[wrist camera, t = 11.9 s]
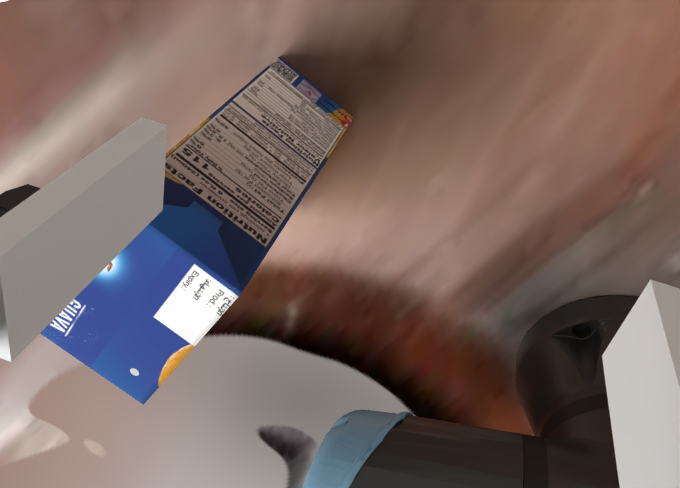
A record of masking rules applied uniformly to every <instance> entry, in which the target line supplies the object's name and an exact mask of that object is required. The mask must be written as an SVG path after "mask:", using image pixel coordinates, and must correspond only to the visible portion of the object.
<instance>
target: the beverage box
mask: <svg viewBox="0 0 680 488" xmlns="http://www.w3.org/2000/svg"><path fill="white" fill-rule="evenodd" d="M353 118H354V117H352V116H351V115H350V114H349V113H348V112H346V111H345V110H344V109H343V108H342V107H340V106H339V105H338V104H337V103H335V102H334V101H333V100H332V99H331V98H329V97H328V96H327V95H326V94H325V93H323V92H322V91H321V90H320V89H318V88H317V87H316V86H315V85H314V84H312V83H311V82H310V81H309V80H308V79H306V78H305V77H304V76H303V75H301V74H300V73H299V72H298V71H297V70H295V69H294V68H293V67H292V66H290V65H289V64H288V63H287V62H286V61H284V60H283V59H282V58H281V57H278V58H277V59H276V60H275V61H274V62H272V63H271V64H270V65H269V66H268V67H267V68H265V69H264V70H263V71H262V72H261V73H260V74H258V75H257V76H256V77H255V78H254V79H253V80H251V81H250V82H249V83H248V84H247V85H246V86H244V87H243V88H242V89H241V90H240V91H239V92H237V93H236V94H235V95H234V96H233V97H232V98H230V99H229V100H228V101H227V102H226V103H225V104H223V105H222V106H221V107H220V108H219V109H218V110H216V111H215V112H214V113H213V114H212V115H211V116H209V117H208V118H207V119H206V120H205V121H204V122H202V123H201V124H200V125H199V126H198V127H197V128H195V129H194V130H193V131H192V132H191V133H190V134H188V135H187V136H186V137H185V138H184V139H183V140H181V141H180V142H179V143H178V144H177V145H176V146H174V147H173V148H172V149H171V150H170V151H169V152H167V153H166V162H165V179H164V196H163V210H162V211H161V212H160V213H159V214H158V215H157V216H156V217H155V218H154V219H153V220H152V221H151V222H150V223H149V224H148V225H147V226H146V227H145V228H144V229H143V230H142V231H141V232H140V233H139V234H138V235H137V236H136V237H135V238H134V239H133V240H132V241H131V242H130V243H129V244H128V245H127V246H126V247H125V248H124V249H123V250H122V251H121V252H120V253H119V254H118V255H117V256H116V257H115V258H114V259H113V260H112V261H111V262H110V263H109V264H108V265H107V266H106V267H105V268H104V269H103V270H102V271H101V272H100V273H99V274H98V275H97V276H96V277H95V278H94V279H93V280H92V281H91V282H90V283H89V284H88V285H87V286H86V287H85V288H84V289H83V290H82V291H81V292H80V293H79V295H78V296H77V297H76V298H75V299H74V300H73V301H72V302H71V303H70V304H69V305H68V306H67V307H66V308H65V309H64V310H63V311H62V312H61V313H60V314H59V315H58V316H57V317H56V318H55V319H54V320H53V321H52V322H51V323H50V324H49V325H48V326H47V327H46V328H45V329H44V330H43V331H42V332H41V334H42V335H43V336H45V337H46V338H48V339H49V340H51V341H52V342H54V343H55V344H56V345H58V346H59V347H61V348H62V349H64V350H65V351H67V352H68V353H70V354H71V355H72V356H74V357H75V358H77V359H78V360H80V361H81V362H83V363H84V364H85V365H87V366H88V367H90V368H91V369H93V370H94V371H96V372H97V373H98V374H100V375H101V376H103V377H104V378H106V379H107V380H109V381H110V382H112V383H113V384H114V385H116V386H117V387H119V388H120V389H122V390H123V391H125V392H126V393H127V394H129V395H130V396H132V397H133V398H135V399H136V400H138V401H139V402H141V403H142V404H144V403H145V402H146V401H147V400H148V399H149V398H150V397H151V396H152V394H153V393H154V392H155V391H156V389H158V388H159V386H160V385H161V384H162V383H163V382H164V381H165V380H166V378H167V377H168V376H169V375H170V374H171V373H172V372H173V370H174V369H175V368H176V367H177V366H178V365H179V364H180V362H181V361H182V360H183V359H184V358H185V357H186V356H187V355H188V353H189V352H190V351H191V350H192V349H193V348H194V347H195V345H196V344H197V343H198V342H199V341H200V340H201V339H202V337H203V336H204V335H205V334H206V333H207V332H208V331H209V330H210V328H211V327H212V326H213V325H214V324H215V323H216V322H217V320H218V319H219V318H220V317H221V316H222V315H223V314H224V312H225V311H226V310H227V309H228V308H229V307H230V306H231V305H232V303H233V302H234V301H235V300H236V299H237V298H238V297H239V295H240V294H241V293H242V291H243V290H244V288H245V287H246V285H247V284H248V282H249V281H250V279H251V277H252V276H253V274H254V273H255V271H256V270H257V268H258V267H259V265H260V263H261V262H262V260H263V259H264V257H265V256H266V254H267V252H268V251H269V249H270V248H271V246H272V245H273V243H274V242H275V240H276V238H277V237H278V235H279V234H280V232H281V231H282V229H283V228H284V226H285V224H286V223H287V221H288V220H289V218H290V217H291V215H292V214H293V212H294V210H295V209H296V207H297V206H298V204H299V203H300V201H301V199H302V198H303V196H304V195H305V193H306V192H307V190H308V189H309V187H310V185H311V184H312V182H313V181H314V179H315V178H316V176H317V175H318V173H319V171H320V170H321V168H322V167H323V165H324V164H325V162H326V161H327V159H328V157H329V156H330V154H331V153H332V151H333V150H334V148H335V147H336V145H337V143H338V142H339V140H340V139H341V137H342V136H343V134H344V132H345V131H346V129H347V128H348V126H349V125H350V123H351V122H352V120H353Z"/></svg>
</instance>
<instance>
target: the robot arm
mask: <svg viewBox="0 0 680 488" xmlns="http://www.w3.org/2000/svg"><path fill="white" fill-rule="evenodd" d="M167 129H168V125H164V124H161V123H158V122H155V121H152V120H149V119H146V118H143V117H141V118H140V119H138V120H137V121H135V122H134V123H133V124H131V125H130V126H128V127H127V128H126V129H124V130H123V131H121V132H120V133H119V134H117V135H116V136H114V137H113V138H112V139H110V140H109V141H107V142H106V143H104V144H103V145H102V146H100V147H99V148H97V149H96V150H95V151H93V152H92V153H90V154H89V155H88V156H86V157H85V158H83V159H82V160H81V161H79V162H78V163H76V164H75V165H73V166H72V167H71V168H69V169H68V170H66V171H65V172H64V173H62V174H61V175H59V176H58V177H57V178H55V179H54V180H52V181H51V182H50V183H48V184H47V185H45V186H44V187H43V188H38V187H35V186H32V185H29V184H27V185H24V186H21V187H18V188H15V189H12V190H8V191H5V192H4V193H2V194H1V195H0V358H2V359H5V360H8V361H10V362H12V361H13V360H14V359H15V358H16V357H17V356H18V355H19V354H20V353H21V352H22V351H23V350H24V349H25V348H26V347H27V346H28V345H29V344H30V343H31V342H32V341H33V340H34V339H35V338H36V337H37V336H38V335H39V334H40V333H41V332H42V331H43V330H44V329H45V328H46V327H47V326H48V325H49V324H50V323H51V322H52V321H53V320H54V319H55V318H56V317H57V316H58V315H59V314H60V313H61V312H62V311H63V310H64V309H65V308H66V307H67V306H68V305H69V304H70V303H71V302H72V301H73V300H74V299H75V298H76V297H77V296H78V295H79V293H80V292H81V291H82V290H83V289H84V288H85V287H86V286H87V285H88V284H89V283H90V282H91V281H92V280H93V279H94V278H95V277H96V276H97V275H98V274H99V273H100V272H101V271H102V270H103V269H104V268H105V267H106V266H107V265H108V264H109V263H110V262H111V261H112V260H113V259H114V258H115V257H116V256H117V255H118V254H119V253H120V252H121V251H122V250H123V249H124V248H125V247H126V246H127V245H128V244H129V243H130V242H131V241H132V240H133V239H134V238H135V237H136V236H137V235H138V234H139V233H140V232H141V231H142V230H143V229H144V228H145V227H146V226H147V225H148V224H149V223H150V222H151V221H152V220H153V219H154V218H155V217H156V216H157V215H158V214H159V213H160V212H161V211H162V210H163V196H164V179H165V162H166V145H167ZM516 389H517V394H518V397H519V400H520V403H521V405H522V407H523V409H524V411H525V413H526V416H527V418H528V421H529V423H530V426H531V428H532V430H533V433H534V435H535V436H531V435H524V434H520V433H513V432H506V431H500V430H494V429H488V428H482V427H476V426H470V425H465V424H459V423H453V422H447V421H441V420H435V419H429V418H423V417H417V416H413V414H412V413H410V412H401V413H399V414H396V413H387V412H378V411H370V410H356V411H352V412H349V413H348V414H346V415H344V416H342V417H341V418H340V419H339V420H338V421H337V422H336V423H335V424H334V425H333V427H332V428H331V429H330V431H329V432H328V433H327V435H326V436H325V438H324V440H323V442H322V443H321V445H320V447H319V449H318V451H317V453H316V455H315V457H314V460H313V462H312V464H311V467H310V469H309V472H308V474H307V477H306V480H305V482H304V485H303V488H680V289H679V288H676V287H673V286H670V285H667V284H664V283H660V282H657V281H654V280H651V279H650V281H649V282H648V284H647V286H646V287H645V289H644V290H643V292H642V294H641V295H640V297H639V298H634V297H626V296H604V297H595V298H589V299H584V300H580V301H576V302H573V303H570V304H567V305H565V306H562V307H560V308H558V309H556V310H554V311H552V312H551V313H549V314H547V315H546V316H544V317H543V318H542V319H540V320H539V321H538V322H537V323H536V324H535V325H534V326H533V327H532V328H531V329H530V330H529V331H528V333H527V334H526V335H525V337H524V339H523V340H522V342H521V344H520V347H519V350H518V353H517V358H516Z"/></svg>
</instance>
